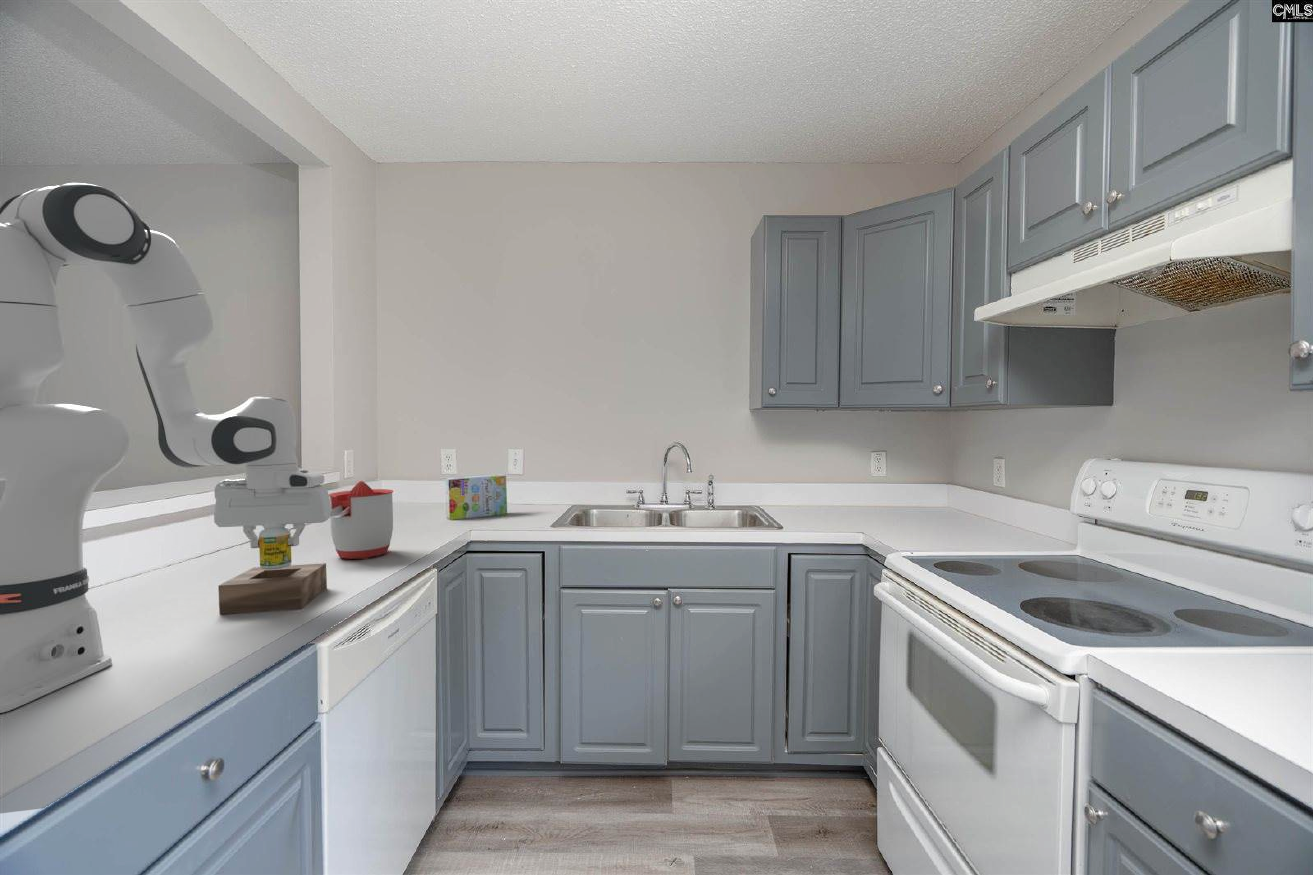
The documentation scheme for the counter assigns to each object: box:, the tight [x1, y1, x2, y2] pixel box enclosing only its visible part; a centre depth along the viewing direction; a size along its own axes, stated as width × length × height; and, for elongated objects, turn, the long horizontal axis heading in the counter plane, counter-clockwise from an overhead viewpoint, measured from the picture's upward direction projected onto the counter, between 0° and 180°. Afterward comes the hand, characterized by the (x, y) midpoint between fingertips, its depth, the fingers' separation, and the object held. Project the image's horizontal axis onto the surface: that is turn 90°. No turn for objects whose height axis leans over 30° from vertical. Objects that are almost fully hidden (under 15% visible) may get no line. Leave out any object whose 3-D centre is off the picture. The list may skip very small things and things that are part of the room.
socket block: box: [218, 562, 328, 615], centre depth 119 cm, size 14×14×6 cm
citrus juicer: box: [328, 480, 394, 560], centre depth 158 cm, size 16×17×20 cm
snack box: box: [445, 474, 508, 521], centre depth 221 cm, size 21×6×15 cm, turn 121°
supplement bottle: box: [258, 521, 292, 569], centre depth 119 cm, size 5×5×10 cm
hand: (275, 546), depth 119 cm, fingers closed on supplement bottle, 5 cm apart
